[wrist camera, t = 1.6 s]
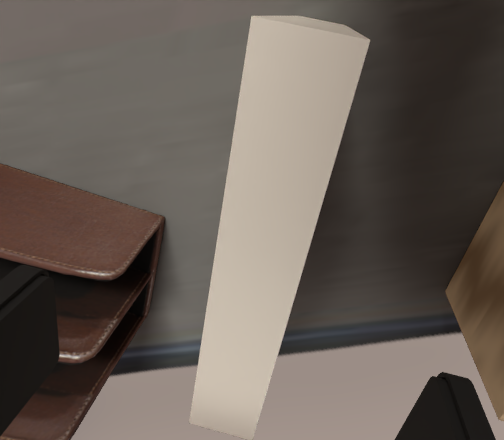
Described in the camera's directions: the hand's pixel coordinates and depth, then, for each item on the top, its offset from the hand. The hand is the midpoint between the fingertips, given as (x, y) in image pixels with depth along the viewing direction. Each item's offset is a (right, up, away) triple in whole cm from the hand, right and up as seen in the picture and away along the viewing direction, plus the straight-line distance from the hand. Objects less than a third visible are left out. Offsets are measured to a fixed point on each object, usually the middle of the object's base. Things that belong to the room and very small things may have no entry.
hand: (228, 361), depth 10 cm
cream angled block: (+3, +8, +15) cm, 17 cm away
